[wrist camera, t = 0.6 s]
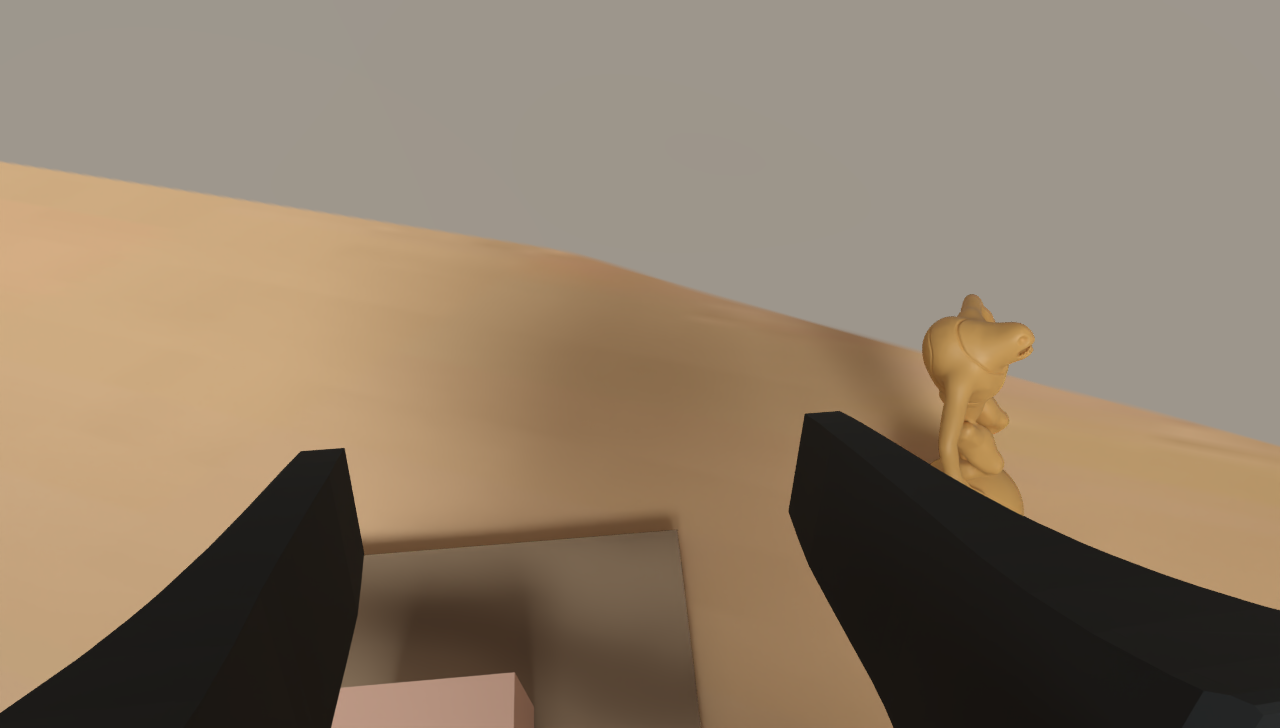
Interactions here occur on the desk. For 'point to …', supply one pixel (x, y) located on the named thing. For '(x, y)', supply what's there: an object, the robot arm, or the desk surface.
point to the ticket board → (538, 626)
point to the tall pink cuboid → (437, 704)
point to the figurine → (974, 395)
